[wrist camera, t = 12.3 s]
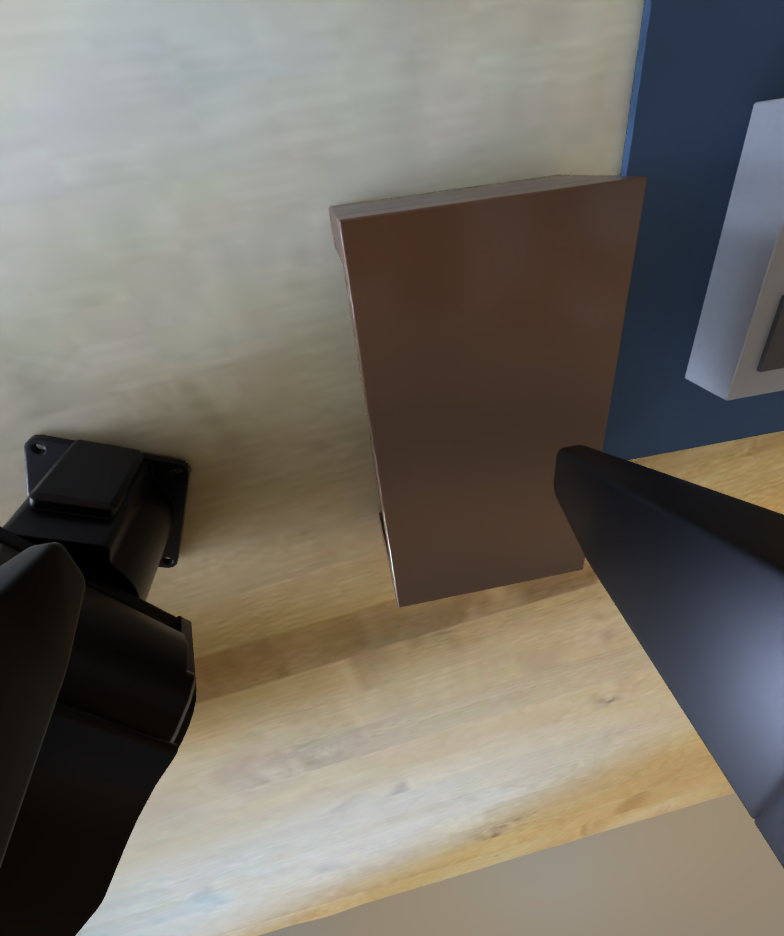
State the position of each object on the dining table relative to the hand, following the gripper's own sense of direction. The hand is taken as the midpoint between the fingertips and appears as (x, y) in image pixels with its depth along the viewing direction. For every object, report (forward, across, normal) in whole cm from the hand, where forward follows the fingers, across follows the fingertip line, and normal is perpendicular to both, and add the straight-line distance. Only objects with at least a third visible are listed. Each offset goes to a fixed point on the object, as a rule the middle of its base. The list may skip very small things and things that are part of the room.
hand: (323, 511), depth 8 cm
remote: (+13, -20, 0) cm, 24 cm away
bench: (+13, -6, +4) cm, 15 cm away
